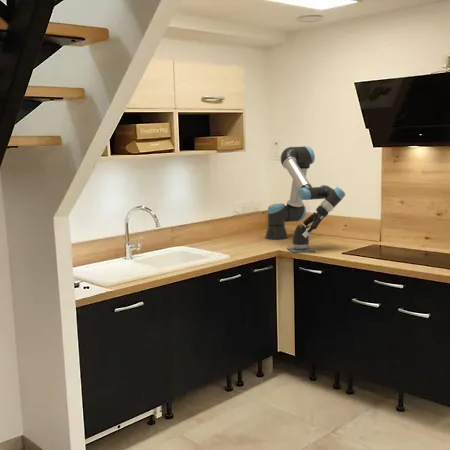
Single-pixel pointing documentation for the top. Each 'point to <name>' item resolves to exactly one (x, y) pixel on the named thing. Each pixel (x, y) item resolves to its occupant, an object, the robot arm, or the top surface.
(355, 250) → the top surface
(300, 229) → the pump dispenser
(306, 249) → the charcoal mat
